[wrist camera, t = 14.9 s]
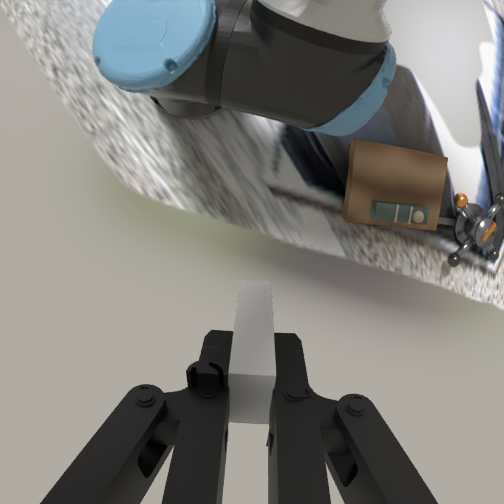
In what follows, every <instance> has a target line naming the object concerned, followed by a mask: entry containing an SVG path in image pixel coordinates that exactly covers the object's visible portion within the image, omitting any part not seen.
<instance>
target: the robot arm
mask: <svg viewBox="0 0 504 504" xmlns="http://www.w3.org/2000/svg"><path fill="white" fill-rule="evenodd" d="M386 1H387V0H113V1H112V2H111V3H110V4H109V5H108V7H107V8H106V9H105V11H104V12H103V14H102V16H101V18H100V19H99V22H98V24H97V26H96V29H95V33H94V37H93V56H94V61H95V63H96V65H97V67H98V69H99V71H100V73H101V74H102V75H103V76H104V77H105V78H106V79H107V80H108V81H110V82H111V83H113V84H115V85H117V86H118V87H119V88H120V89H122V90H125V91H127V92H132V93H142V94H146V95H149V96H150V98H151V99H152V101H153V102H154V103H155V104H156V105H157V106H158V107H159V108H160V109H162V110H163V111H165V112H166V113H168V114H170V115H173V116H176V117H180V118H186V119H201V118H206V117H210V116H213V115H215V114H217V113H219V112H221V111H223V110H224V109H226V108H228V109H232V110H237V111H241V112H245V113H249V114H253V115H257V116H261V117H265V118H269V119H272V120H276V121H280V122H283V123H287V124H290V125H293V126H297V127H300V128H301V129H303V130H308V131H317V132H321V133H325V134H329V135H333V136H346V135H349V134H352V133H354V132H356V131H357V130H359V129H360V128H361V127H363V126H364V125H365V124H366V123H367V122H368V121H369V120H370V119H371V118H372V117H373V115H374V114H375V113H376V111H377V110H378V109H379V107H380V106H381V104H382V102H383V101H384V99H385V97H386V95H387V93H388V91H387V86H388V85H389V83H391V82H392V80H393V77H394V73H395V69H396V54H395V51H394V49H393V47H392V45H391V44H390V43H389V42H388V40H389V38H390V35H391V33H392V32H391V28H390V26H389V24H388V21H387V19H386V17H385V15H384V13H383V7H384V5H385V3H386ZM186 375H187V383H188V387H187V388H185V389H183V390H181V391H175V392H167V393H163V391H162V390H161V389H160V388H158V387H156V386H154V385H149V384H144V385H139V386H136V387H134V388H132V389H131V390H130V391H129V392H128V393H127V394H126V396H125V397H124V398H123V399H122V401H121V402H120V403H119V405H118V406H117V407H116V408H115V409H114V411H113V412H112V413H111V414H110V416H109V417H108V418H107V419H106V421H105V422H104V423H103V424H102V426H101V427H100V428H99V429H98V431H97V432H96V433H95V434H94V436H93V437H92V438H91V440H90V441H89V442H88V443H87V445H86V446H85V447H84V448H83V450H82V451H81V452H80V453H79V455H78V456H77V457H76V459H75V460H74V461H73V462H72V464H71V465H70V466H69V467H68V469H67V470H66V471H65V472H64V474H63V475H62V476H61V477H60V479H59V480H58V481H57V483H56V484H55V485H54V487H53V488H52V489H51V490H50V491H49V493H48V494H47V495H46V497H45V498H44V499H43V501H42V502H41V503H40V504H140V503H141V501H142V499H143V498H144V496H145V494H146V493H147V491H148V489H149V487H150V486H151V484H152V482H153V481H154V479H155V477H156V476H157V474H158V472H159V470H160V469H161V467H162V465H163V464H164V462H165V460H166V458H167V457H168V455H169V453H170V451H171V450H172V448H173V446H174V450H173V454H172V459H171V463H170V468H169V472H168V476H167V481H166V486H165V490H164V495H163V500H162V504H222V495H223V485H224V474H225V463H226V451H227V441H228V423H229V422H234V423H252V424H269V434H268V440H267V445H266V446H268V495H269V496H268V500H269V501H268V504H331V500H330V493H329V485H328V478H327V471H326V464H327V466H328V469H329V471H330V473H331V475H332V477H333V480H334V482H335V484H336V486H337V488H338V490H339V492H340V494H341V497H342V499H343V501H344V503H345V504H438V503H437V501H436V500H435V498H434V496H433V495H432V493H431V492H430V490H429V489H428V487H427V485H426V484H425V482H424V481H423V479H422V478H421V476H420V475H419V473H418V471H417V470H416V468H415V467H414V465H413V464H412V462H411V461H410V459H409V457H408V456H407V454H406V453H405V451H404V450H403V448H402V447H401V445H400V444H399V442H398V441H397V439H396V438H395V436H394V434H393V433H392V432H391V430H390V428H389V427H388V425H387V424H386V422H385V421H384V419H383V418H382V416H381V415H380V413H379V412H378V410H377V409H376V407H375V406H374V404H373V403H372V402H371V401H370V400H369V399H368V398H367V397H365V396H363V395H359V394H348V395H345V396H343V397H341V399H340V400H339V401H336V400H331V399H327V398H324V397H321V396H319V395H317V394H316V393H315V392H313V390H312V389H311V388H310V386H309V383H308V378H307V372H306V365H305V360H304V354H303V348H302V343H301V340H300V339H299V338H298V336H297V335H296V334H295V333H274V328H273V311H272V295H271V282H270V281H264V280H246V279H241V280H240V286H239V293H238V301H237V309H236V317H235V325H234V331H221V330H211V331H210V332H209V333H208V334H207V335H206V336H205V338H204V342H203V347H202V350H201V354H200V358H199V361H197V362H194V363H193V364H191V365H190V366H189V367H188V369H187V370H186ZM325 462H326V464H325Z"/></svg>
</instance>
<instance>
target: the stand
mask: <svg viewBox="0 0 504 504" xmlns="http://www.w3.org/2000/svg"><path fill="white" fill-rule="evenodd" d="M348 151H349V153H350V155H349V166H348V175H347V185H346V193H345V201H344V202H343V204H342V208H343V217H342V218H343V219H344V220H345V221H346V222H351V223H363V224H374V225H385V226H395V227H405V228H415V229H424V230H433V231H436V228H437V223H438V218H439V213H440V208H441V202H442V196H443V190H444V184H445V177H446V169H447V161H448V158H447V157H443V156H439V155H435V154H430V153H426V152H422V151H417V150H412V149H408V148H403V147H398V146H393V145H387V144H382V143H376V142H370V141H364V140H357V139H351V144H350V145H349V147H348Z"/></svg>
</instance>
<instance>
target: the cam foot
mask: <svg viewBox="0 0 504 504" xmlns="http://www.w3.org/2000/svg"><path fill="white" fill-rule="evenodd" d="M468 204H469V206H470V207H471V209H472V211H473V212H474V214H477V215H479V216H481V217H484V216H485V213H484V210H483V209H482V208H481V207H480V206H479V205H477V204H474V203H468ZM466 219H467V217H466V215H465V214H464V212H463V211H462V209H461V208H460V209H459V211H458V212H457V214H456V217H455V219H454V218H450V217H444V216H439V218H438V223H437V224H444V225H452V226H453V229H454V234H455V237H456V238H457V240H458V241H459V242H461V243H463V242H464V241H465V240H466V239H467V237H468V236H466V234H465V232H464V223H465V221H466ZM421 230H424V229H421ZM474 243H476V242H474ZM474 243H473V244H474Z"/></svg>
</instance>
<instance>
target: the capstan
mask: <svg viewBox="0 0 504 504" xmlns="http://www.w3.org/2000/svg"><path fill="white" fill-rule="evenodd" d="M454 203H455V205H456V206H457V207H458V208H461V209H462V211H463V212H464V214H465V215H466V217H467V219H466V221H465V223H464V232H465V234H466V236H468V237H467V239H466V240H465V241H464V242H463V243H462V245H461V246H460V247H459V248H458V249H457V251H456V252H453V253H451V254H450V255H449V256H448V263H449V265H450V266H452V267H457V266H458V265H459V264H460V261H461V258H462V256H463V255H464V254H465V253H466V252H467V250H468V249H469V248H470V247H471V246H472V244H473V243H474V242H476V244H477V245H478V246H479V247H481V248H486V250H487V251H488V258H489V259H490V260H491V261H496V260H497V259H498V257H499V252H498V250H497V249H496V248H494V247H493V245H492V243H493V241H494V239H495V236H496V224H495V222H494V221H493V220H492V219H493V217H494V216H495V215H496V213H497V212H498V210H499V209H500V208H501V207H504V194H502V193H498V194H497V195H496V196H495V202H494V203H493V205H492V206H491V208H490V209H489V210H488V212H487V213H486V214H485V216H484V217H481V216H479V215H477V214H474V212H473V211H472V209H471V207H470V206H469V204H468V199H467V196H466V195H465V194H463V193H457V194H456V195H455V197H454Z"/></svg>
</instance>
